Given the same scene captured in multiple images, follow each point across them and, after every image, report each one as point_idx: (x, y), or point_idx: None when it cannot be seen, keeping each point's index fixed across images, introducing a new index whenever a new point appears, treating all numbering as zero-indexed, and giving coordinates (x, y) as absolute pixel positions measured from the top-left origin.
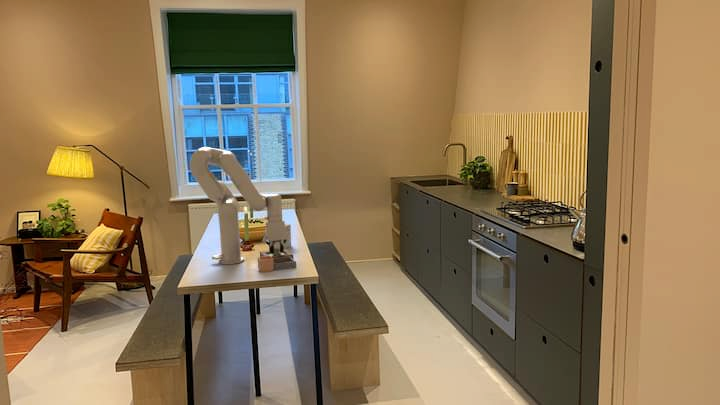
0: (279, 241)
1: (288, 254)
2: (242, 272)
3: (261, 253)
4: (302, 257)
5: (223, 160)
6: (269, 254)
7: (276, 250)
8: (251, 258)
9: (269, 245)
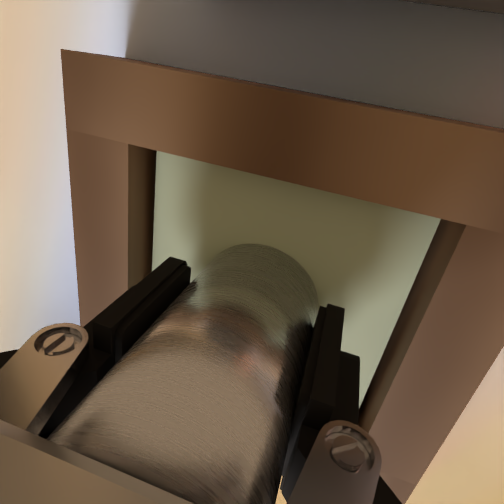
0: (76, 420)
1: (127, 110)
2: None
3: (434, 455)
4: (7, 120)
5: None
6: None
7: (260, 299)
8: (497, 487)
9: (376, 472)
